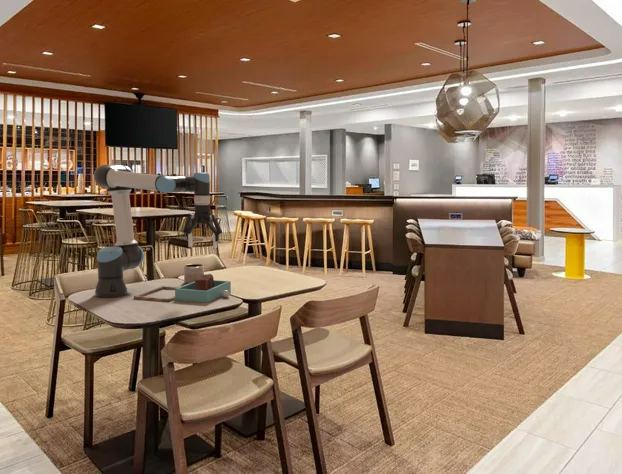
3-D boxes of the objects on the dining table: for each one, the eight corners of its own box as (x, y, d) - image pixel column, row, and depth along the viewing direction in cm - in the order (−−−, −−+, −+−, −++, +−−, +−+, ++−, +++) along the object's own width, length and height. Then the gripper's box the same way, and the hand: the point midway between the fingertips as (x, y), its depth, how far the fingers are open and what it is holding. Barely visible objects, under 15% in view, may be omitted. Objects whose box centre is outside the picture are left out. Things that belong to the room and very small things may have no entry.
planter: (195, 279, 302) (194, 263, 301) (208, 282, 296) (207, 265, 295) (180, 282, 294) (179, 265, 293) (193, 285, 287) (193, 267, 286)
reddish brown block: (207, 297, 255) (207, 279, 253) (193, 297, 255) (193, 279, 254) (214, 289, 273) (214, 272, 271) (202, 289, 273) (202, 271, 272)
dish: (175, 300, 253) (174, 288, 252) (200, 289, 277) (200, 279, 276) (207, 302, 248) (207, 291, 247) (230, 291, 272) (230, 281, 271)
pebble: (220, 297, 258) (220, 290, 257) (224, 296, 261) (224, 289, 261) (227, 298, 257) (227, 291, 256) (230, 296, 260) (230, 289, 260)
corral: (133, 298, 255) (133, 296, 254) (163, 288, 279) (162, 286, 279) (169, 301, 249) (169, 299, 249) (195, 290, 273) (195, 288, 273)
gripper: (175, 204, 257) (176, 247, 260) (222, 205, 250) (222, 249, 252) (183, 203, 264) (184, 245, 267) (228, 204, 257) (229, 247, 260)
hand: (202, 247), depth 260 cm, fingers open, 13 cm apart
